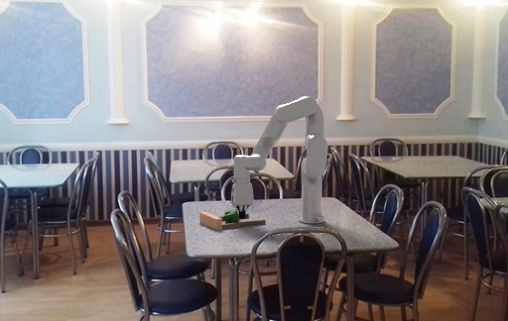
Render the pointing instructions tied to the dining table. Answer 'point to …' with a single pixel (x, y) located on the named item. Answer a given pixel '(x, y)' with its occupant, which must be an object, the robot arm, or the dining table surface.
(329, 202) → the dining table surface
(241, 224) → the guide rails
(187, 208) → the dining table surface
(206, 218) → the end stop
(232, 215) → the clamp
